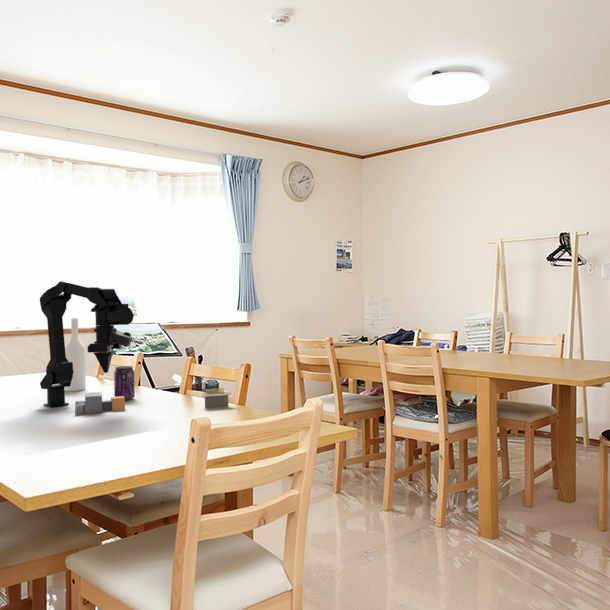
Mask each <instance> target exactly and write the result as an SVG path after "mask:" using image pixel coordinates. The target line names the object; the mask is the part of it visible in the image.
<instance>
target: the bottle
mask: <svg viewBox="0 0 610 610" xmlns="http://www.w3.org/2000/svg"><path fill="white" fill-rule="evenodd" d="M70 321H71V322H70V324H71V325H70V326H71V327H70V328H71V329H70V335H71V336H70V339H69V340H68V342H67V343H66V344H65V354H66V358H67V360H68V361H69V362H72V363H73V371H74V373H73V378H72V381H71V385H70V386H69V387H65V392H79V390H80V391H84V390H85V391H86V389H87V387H86V385H87V384H86V383H87V382H86V381H87V380H86V379H87V378H86V376H87V375H86V374H87V373H86V367H87V366H86V346H85V345H84V343H83V342H82V340H81V339H80V337H79V319H78V317H75V318H74V317H72V318H71V319H70Z"/></svg>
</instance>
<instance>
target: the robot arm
mask: <svg viewBox="0 0 610 610" xmlns="http://www.w3.org/2000/svg"><path fill="white" fill-rule="evenodd" d="M73 295H75V296H78V297H82V298H85V299H87V300H88V301H89V302H91V303H92V304H94V306H93V307H92V308H90V313H94V314H95V315H94V316H95V328H93V333H95V341H94V342H92V343H89V344H88V345H87V347H86V348H87V353H93V355H94V356H95V357H96V359H97V362H98V363H99V365H100V368H101V369H102V371H103V373H104V374H106V373H107V374H108V373H109V371H110V365H111V362H112V358H113V356H114V355H115V354H116V353H117V352H118V350H120V349H123V347H124V348H128V347H130V346H131V344H132V342H133V336H132V335H131V332H127V331H124V332H123V333H119V332H117V328H116V327H115V326H127V325H128V326H129V325H130V324H132V323H133V321H134V313H133V311H132V309H131V308H130V307H129V303H123V302H122V301H121V300H120V298H119V296H118V294H117V293H116V289H115V288H113V287H97V286H96V287H94V286H89V285H86V284H81V283H78V282H74V281H73V280H61V281H59V282H57V284H56V285H54V286H52V287H50V288H49V289H47V290H46V291H45V292H43V294H41V295H40V297H39V303H40V304H39V305H40V309H41V312H42V314H43V315H44V316H45V317H46V322H47V333H48V334H47V335H48V345H49V355H50V358H49V361H48V363H47V365H46V366H45V367H46V369H45V375H44V377H43V378H42V379H41V381H40V382H39V385H40V389H41V390H46V402H47V403H43V404H42V406H45V407H49V408H53V407H60V406H61V407H62V406H68V405H70V402H66V390H65V387H69V386H70V385H71V381H72V378H73V373H74V371H73V363H72V362H69V361H68V360H67V358H66V354H65V347H66V344H65V332H64V319H63V318H64V314H65V313H66V311H67V305H68V304H67V303H69V301H71V299H72V296H73Z"/></svg>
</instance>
